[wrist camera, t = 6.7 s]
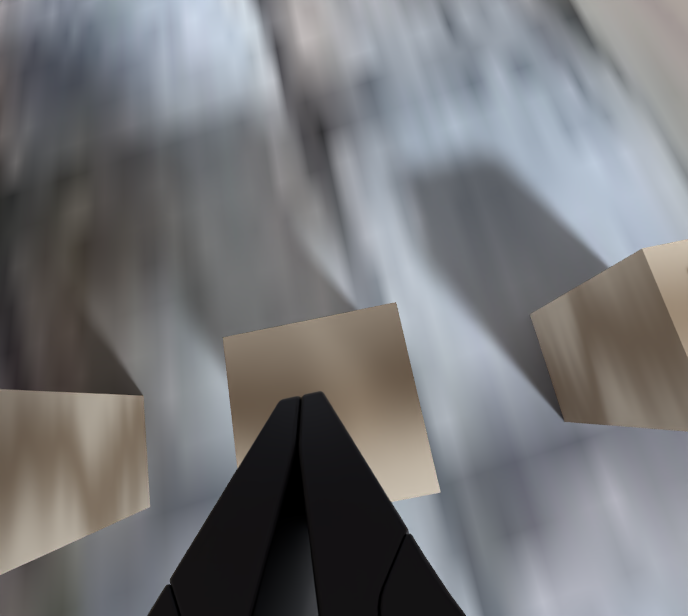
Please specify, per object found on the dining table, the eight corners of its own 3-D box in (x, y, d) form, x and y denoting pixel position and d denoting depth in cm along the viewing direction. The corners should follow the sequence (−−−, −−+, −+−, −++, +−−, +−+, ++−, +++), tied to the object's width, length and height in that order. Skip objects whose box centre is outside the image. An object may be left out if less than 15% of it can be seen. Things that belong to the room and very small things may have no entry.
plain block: (410, 454, 17) (440, 492, 10) (300, 475, 18) (244, 529, 10) (385, 345, 19) (396, 302, 11) (284, 365, 19) (222, 337, 11)
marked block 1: (676, 399, 17) (936, 393, 9) (564, 421, 17) (726, 434, 9) (632, 289, 19) (827, 201, 11) (528, 310, 19) (644, 239, 11)
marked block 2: (150, 507, 18) (-31, 588, 10) (43, 527, 18) (-222, 625, 10) (143, 391, 19) (-21, 381, 11) (43, 411, 19) (-190, 415, 11)
